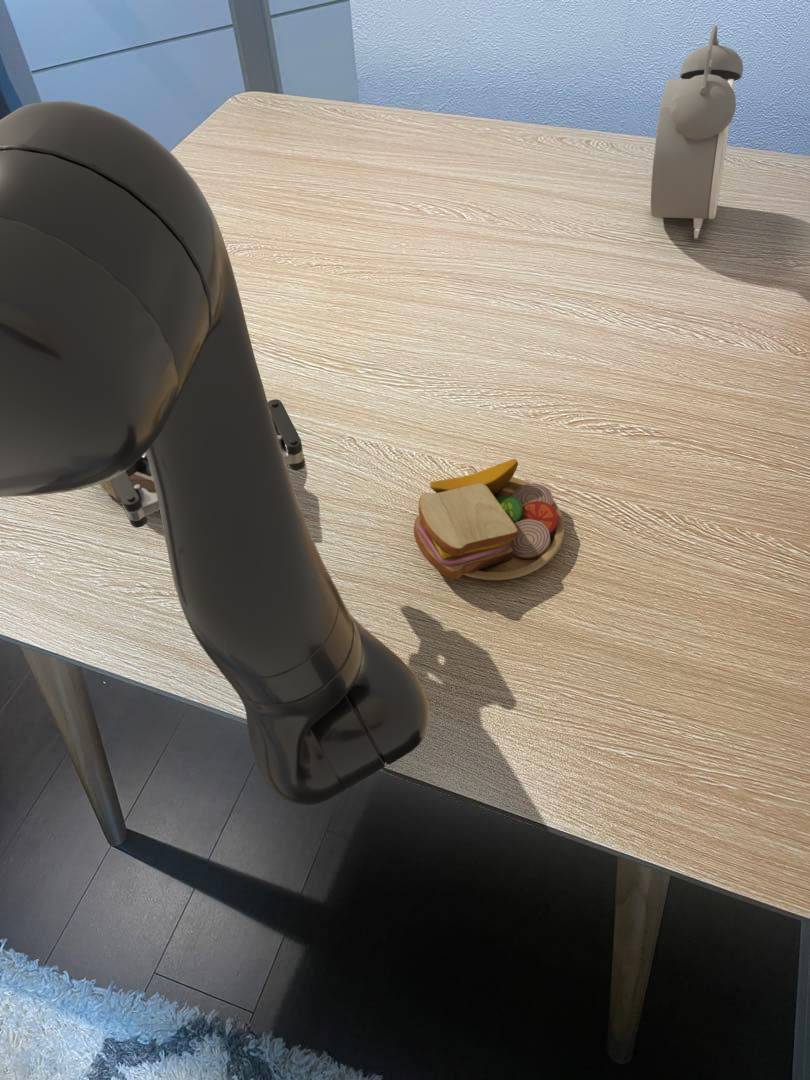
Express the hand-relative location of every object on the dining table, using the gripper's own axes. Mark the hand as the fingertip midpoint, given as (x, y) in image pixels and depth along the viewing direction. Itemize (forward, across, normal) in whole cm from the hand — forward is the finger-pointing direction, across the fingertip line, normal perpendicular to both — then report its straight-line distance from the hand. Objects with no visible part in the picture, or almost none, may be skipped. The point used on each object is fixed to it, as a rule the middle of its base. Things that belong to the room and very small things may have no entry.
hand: (178, 405), depth 74 cm
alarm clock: (+22, -70, +14) cm, 74 cm away
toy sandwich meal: (-13, -22, +14) cm, 29 cm away
